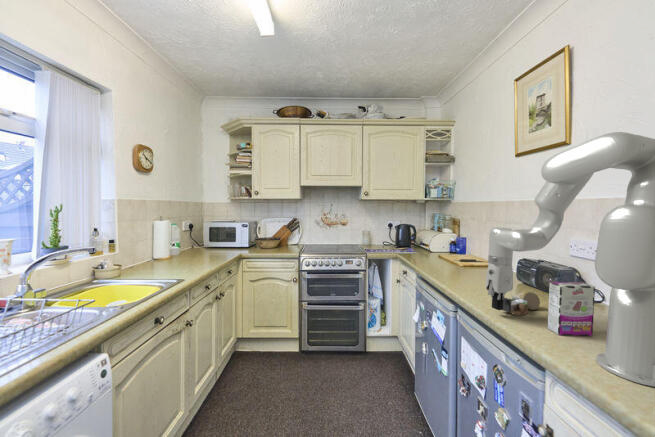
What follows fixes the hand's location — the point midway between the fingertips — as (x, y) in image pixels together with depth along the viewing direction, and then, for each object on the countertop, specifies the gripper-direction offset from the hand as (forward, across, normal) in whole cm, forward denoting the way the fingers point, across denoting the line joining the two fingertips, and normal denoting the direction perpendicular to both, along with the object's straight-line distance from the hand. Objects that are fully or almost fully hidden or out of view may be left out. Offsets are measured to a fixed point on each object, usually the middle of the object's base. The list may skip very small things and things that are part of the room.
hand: (497, 308), depth 99 cm
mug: (+3, +20, +1) cm, 21 cm away
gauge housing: (+3, +11, 0) cm, 11 cm away
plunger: (+1, +10, 0) cm, 10 cm away
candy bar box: (+3, +9, -18) cm, 20 cm away
